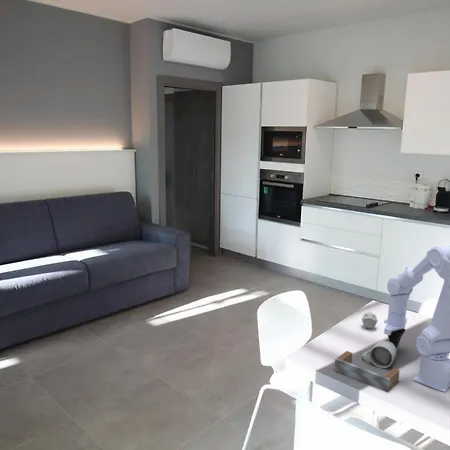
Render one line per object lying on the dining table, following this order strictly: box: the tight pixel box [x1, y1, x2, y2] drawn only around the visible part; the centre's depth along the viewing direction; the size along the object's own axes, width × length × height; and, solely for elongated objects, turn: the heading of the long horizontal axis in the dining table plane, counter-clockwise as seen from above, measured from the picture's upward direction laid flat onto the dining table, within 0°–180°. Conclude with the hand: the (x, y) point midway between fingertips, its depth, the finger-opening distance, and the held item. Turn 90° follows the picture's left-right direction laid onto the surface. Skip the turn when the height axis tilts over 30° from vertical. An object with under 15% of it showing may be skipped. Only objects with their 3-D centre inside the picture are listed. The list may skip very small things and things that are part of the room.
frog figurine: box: [361, 311, 378, 329], centre depth 177 cm, size 6×7×7 cm
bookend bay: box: [334, 350, 400, 393], centre depth 141 cm, size 18×8×4 cm, turn 47°
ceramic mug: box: [361, 339, 397, 369], centre depth 150 cm, size 11×8×8 cm
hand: (393, 347), depth 156 cm, fingers closed
